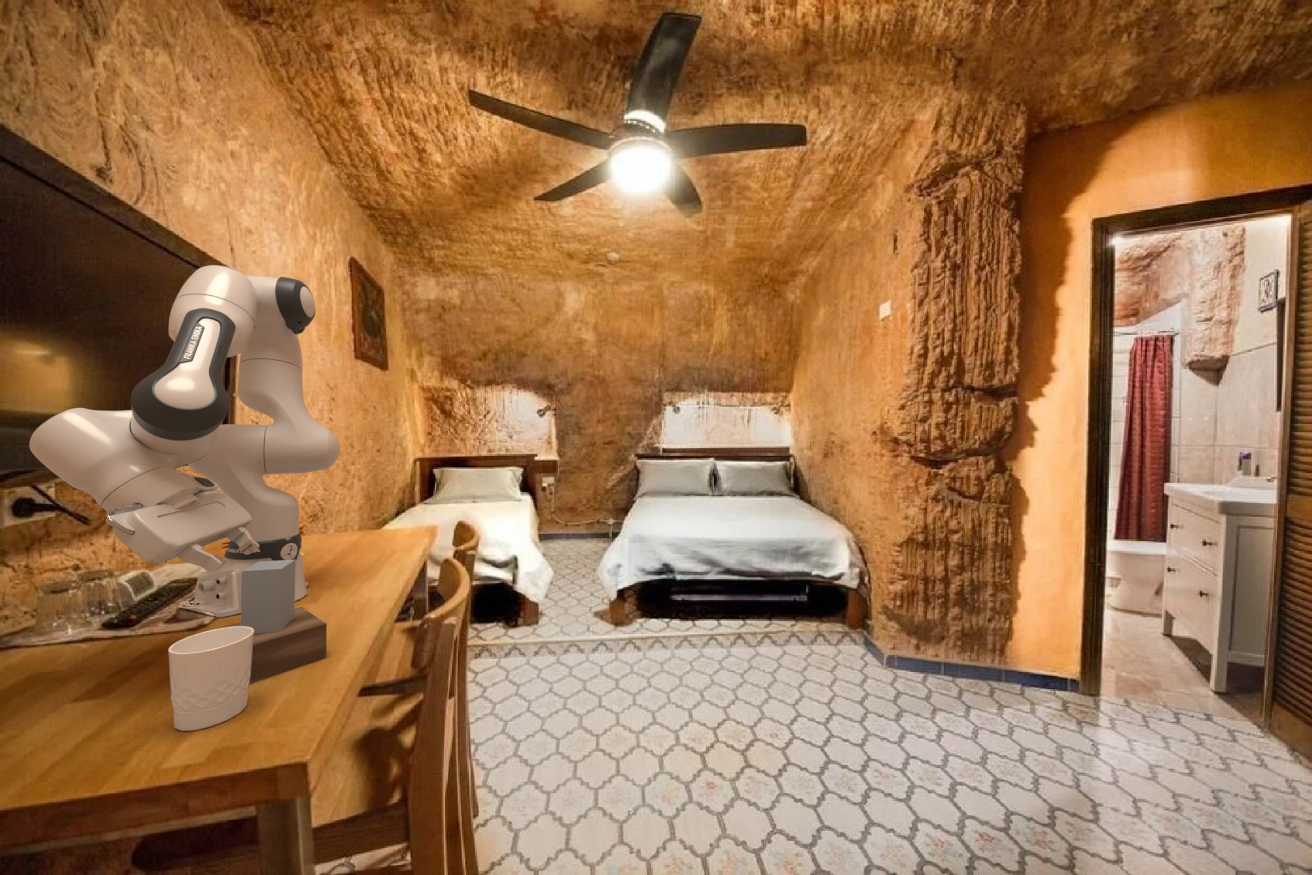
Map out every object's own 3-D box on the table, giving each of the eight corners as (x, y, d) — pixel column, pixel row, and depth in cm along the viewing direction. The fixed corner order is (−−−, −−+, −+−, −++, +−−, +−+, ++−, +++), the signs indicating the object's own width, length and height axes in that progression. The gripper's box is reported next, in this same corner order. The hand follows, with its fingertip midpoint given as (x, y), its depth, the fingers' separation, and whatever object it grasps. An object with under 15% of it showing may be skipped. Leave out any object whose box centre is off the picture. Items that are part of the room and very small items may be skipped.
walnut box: (207, 668, 69) (207, 630, 69) (301, 639, 79) (301, 606, 79) (226, 694, 62) (226, 652, 62) (326, 659, 72) (326, 623, 72)
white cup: (219, 694, 62) (220, 624, 62) (268, 699, 61) (269, 627, 61) (148, 732, 54) (149, 651, 54) (204, 737, 53) (205, 655, 53)
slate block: (240, 635, 67) (241, 571, 67) (257, 621, 72) (258, 561, 72) (280, 631, 69) (281, 568, 69) (294, 618, 74) (295, 559, 74)
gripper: (119, 494, 57) (214, 562, 60) (217, 477, 76) (285, 530, 80) (72, 530, 56) (172, 598, 59) (184, 504, 75) (254, 556, 78)
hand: (238, 558), depth 69 cm, fingers open, 8 cm apart
